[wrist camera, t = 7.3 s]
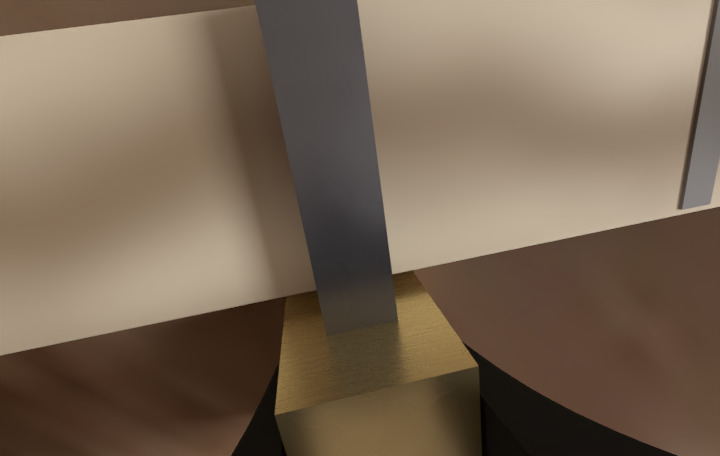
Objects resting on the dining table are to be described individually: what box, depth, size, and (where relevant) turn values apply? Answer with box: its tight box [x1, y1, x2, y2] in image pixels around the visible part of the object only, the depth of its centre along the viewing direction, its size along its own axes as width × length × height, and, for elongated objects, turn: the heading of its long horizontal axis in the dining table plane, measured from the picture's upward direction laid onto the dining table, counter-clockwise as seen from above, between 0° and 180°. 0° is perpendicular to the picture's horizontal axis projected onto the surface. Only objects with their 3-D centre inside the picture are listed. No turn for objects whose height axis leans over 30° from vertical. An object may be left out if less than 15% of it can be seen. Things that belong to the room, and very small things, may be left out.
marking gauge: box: [255, 0, 482, 456], centre depth 8 cm, size 12×4×5 cm, turn 9°
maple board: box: [0, 0, 720, 355], centre depth 9 cm, size 7×28×2 cm, turn 99°
